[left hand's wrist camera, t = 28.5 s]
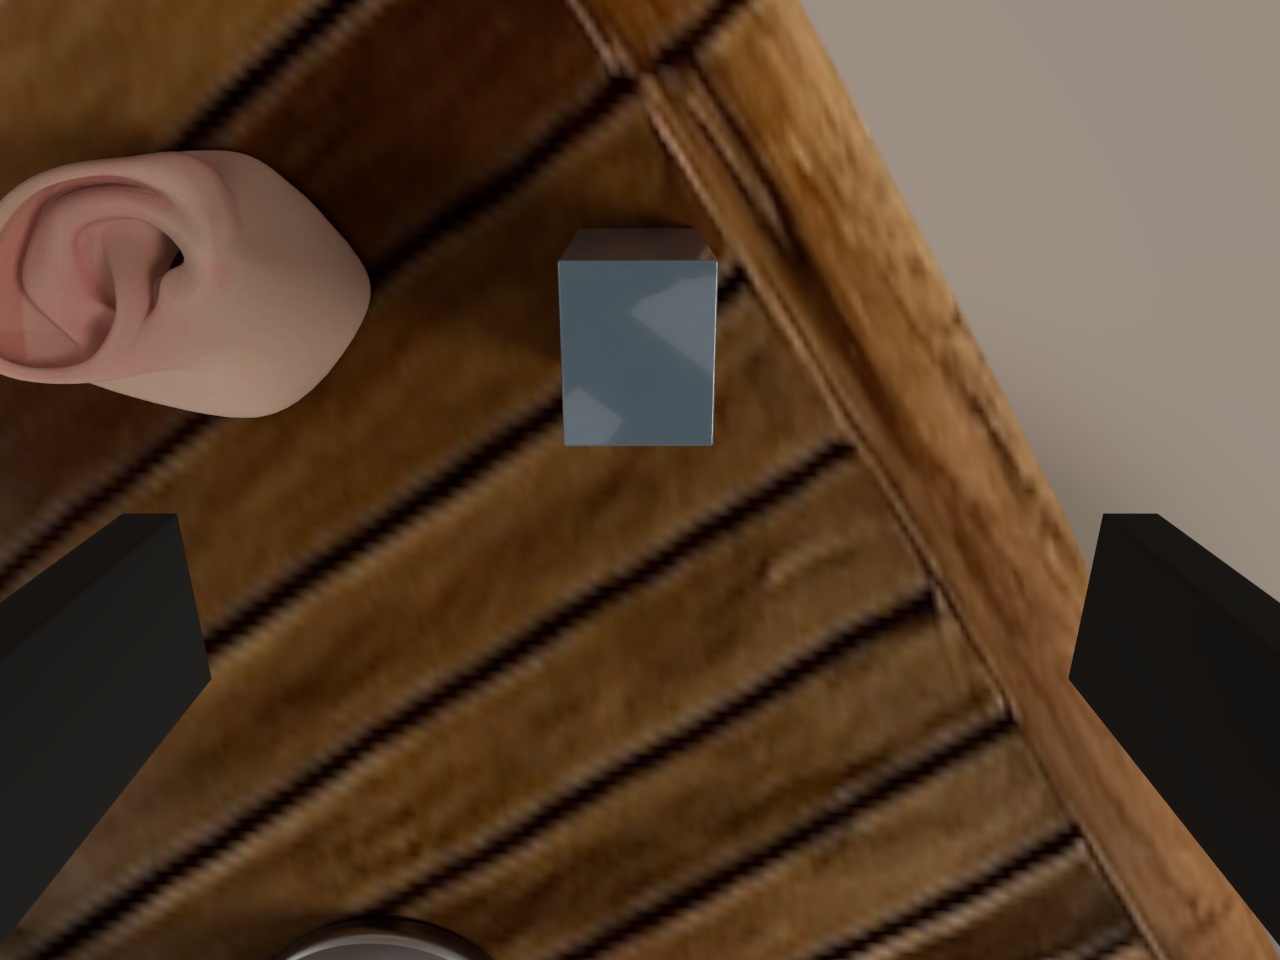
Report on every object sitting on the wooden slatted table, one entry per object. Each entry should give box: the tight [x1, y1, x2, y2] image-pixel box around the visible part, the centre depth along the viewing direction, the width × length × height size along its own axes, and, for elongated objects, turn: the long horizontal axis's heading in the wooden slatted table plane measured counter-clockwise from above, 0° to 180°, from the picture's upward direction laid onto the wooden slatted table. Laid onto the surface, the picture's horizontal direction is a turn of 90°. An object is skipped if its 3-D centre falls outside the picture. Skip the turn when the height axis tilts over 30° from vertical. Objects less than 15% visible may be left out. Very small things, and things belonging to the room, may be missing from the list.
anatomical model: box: [0, 150, 371, 418], centre depth 34 cm, size 13×4×12 cm
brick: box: [557, 228, 718, 446], centre depth 31 cm, size 5×6×10 cm
